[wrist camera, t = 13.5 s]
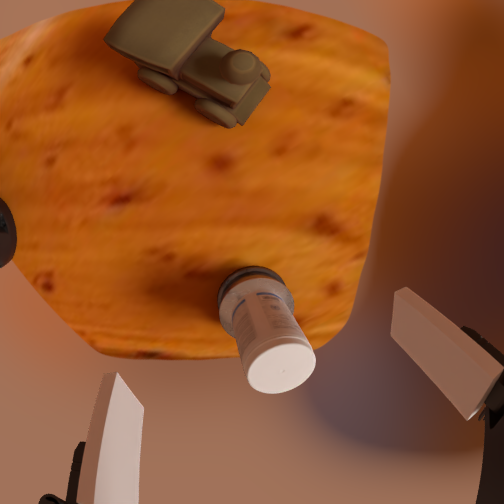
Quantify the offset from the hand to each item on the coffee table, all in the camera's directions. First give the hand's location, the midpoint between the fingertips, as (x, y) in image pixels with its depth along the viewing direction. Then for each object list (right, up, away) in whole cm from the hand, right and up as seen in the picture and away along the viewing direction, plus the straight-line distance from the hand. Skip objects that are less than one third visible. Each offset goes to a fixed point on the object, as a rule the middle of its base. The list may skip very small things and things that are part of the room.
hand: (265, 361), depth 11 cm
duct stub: (0, -4, +39) cm, 39 cm away
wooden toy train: (-9, +32, +25) cm, 41 cm away
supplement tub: (+1, -5, +35) cm, 35 cm away
